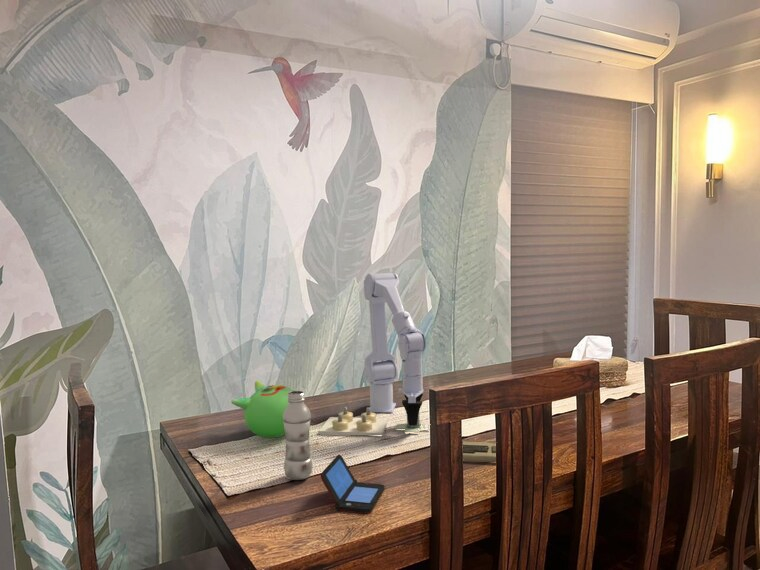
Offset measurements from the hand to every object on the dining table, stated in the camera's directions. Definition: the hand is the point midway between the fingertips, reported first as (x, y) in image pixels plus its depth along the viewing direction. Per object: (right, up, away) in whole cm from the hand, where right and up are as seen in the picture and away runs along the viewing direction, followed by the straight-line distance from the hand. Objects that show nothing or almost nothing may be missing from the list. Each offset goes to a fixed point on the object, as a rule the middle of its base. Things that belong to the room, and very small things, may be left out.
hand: (413, 420), depth 166 cm
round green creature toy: (-40, -4, -3) cm, 40 cm away
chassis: (-17, -3, +2) cm, 17 cm away
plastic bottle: (-28, -6, -33) cm, 44 cm away
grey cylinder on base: (0, -3, 0) cm, 3 cm away
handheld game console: (-15, -7, -44) cm, 47 cm away
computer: (+13, -4, -22) cm, 26 cm away
